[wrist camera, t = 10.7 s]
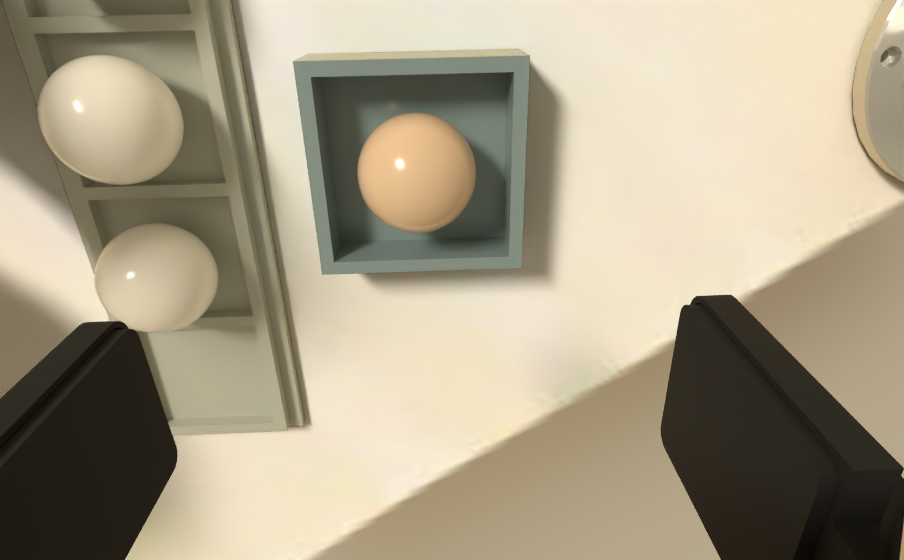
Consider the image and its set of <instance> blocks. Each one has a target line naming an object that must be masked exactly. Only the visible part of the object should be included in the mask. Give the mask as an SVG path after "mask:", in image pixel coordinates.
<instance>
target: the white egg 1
mask: <svg viewBox="0 0 904 560" xmlns="http://www.w3.org/2000/svg"><path fill="white" fill-rule="evenodd" d="M38 119H39V124H40V128H41V131H42V134H43V136H44V139H45V140H46V142H47V144H48V146H49V147H50V149H51V150H52V151H53V153H54V154H55V155H56V156H57V157H58V158H59V159H60V160H61V161H62V162H63V163H64V164H65V165H67V166H68V167H69V168H70V169H72V170H73V171H75V172H77V173H78V174H80V175H82V176H84V177H86V178H89V179H91V180H94V181H98V182H101V183H106V184H113V185H129V184H135V183H140V182H144V181H146V180H149V179H151V178H153V177H155V176H157V175H159V174H160V173H162V172H163V171H164V170H165V169H166V168H168V167H169V166H170V164H171V163H172V162H173V161H174V159H175V158H176V156H177V154H178V153H179V150H180V148H181V145H182V141H183V135H184V122H183V116H182V112H181V109H180V106H179V104H178V102H177V100H176V98H175V96H174V94H173V93H172V91H171V90H170V89H169V87H168V86H167V85H166V84H165V83H164V82H163V80H161V79H160V78H159V77H158V76H157V75H156V74H155V73H153V72H152V71H150V70H149V69H147V68H146V67H144V66H142V65H140V64H139V63H136V62H134V61H132V60H129V59H126V58H122V57H118V56H112V55H89V56H84V57H80V58H77V59H74V60H72V61H69V62H67V63H66V64H64V65H63V66H61V67H60V68H58V69H57V70H56V71H55V72H54V73H53V74H52V75H51V76H50V77H49V79H48V80H47V81H46V83H45V85H44V87H43V88H42V91H41V94H40V97H39V102H38Z"/></svg>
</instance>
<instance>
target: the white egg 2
mask: <svg viewBox="0 0 904 560" xmlns="http://www.w3.org/2000/svg"><path fill="white" fill-rule="evenodd" d="M94 281H95V288H96V292H97V295H98V297H99V300H100V302H101V304H102V305H103V307H104V308H105V309H106V311H107V312H108V313H109V314H110V315H111V316H112V317H113V318H115V319H116V320H117V321H121V322H123V323H125V324H126V325H127V326H128V327H130V328H132V329H135V330H138V331H142V332H149V333H165V332H170V331H175V330H178V329H181V328H183V327H186V326H188V325H189V324H191V323H193V322H194V321H196V320H197V319H198V318H200V317H201V316H202V315H203V314H204V313H205V311H206V310H207V309H208V308H209V306H210V305H211V303H212V301H213V299H214V297H215V294H216V291H217V287H218V269H217V265H216V262H215V259H214V257H213V255H212V253H211V251H210V250H209V248H208V247H207V246H206V245H205V243H204V242H203V241H202V240H201V239H199V238H198V237H197V236H196V235H194V234H193V233H191V232H189V231H187V230H185V229H183V228H181V227H178V226H174V225H170V224H164V223H149V224H142V225H138V226H135V227H132V228H129V229H127V230H125V231H123V232H122V233H120V234H118V235H117V236H116V237H114V238H113V239H112V240H111V241H110V242H109V243H108V244H107V245H106V246H105V248H104V249H103V251H102V253H101V254H100V256H99V258H98V261H97V264H96V268H95V277H94Z"/></svg>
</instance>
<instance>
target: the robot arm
mask: <svg viewBox="0 0 904 560" xmlns="http://www.w3.org/2000/svg"><path fill="white" fill-rule="evenodd" d="M852 93H853V116H854V120H855V124H856V127H857V131H858V135H859V138H860V140H861V142H862V144H863V145H864V147H865V149H866V151H867V153H868V154H869V156H870V157H871V158H872V159H873V160H874V161H875V162H876V163H877V164H878V165H879V166H880V167H881V168H882V169H883V170H884V171H885V172H887V173H888V174H890V175H892V176H894V177H895V178H897V179H899V180H900V181H902V182H904V0H883V2H882V3H881V5H880V7H879V9H878V11H877V13H876V15H875V17H874V19H873V21H872V23H871V25H870V27H869V29H868V31H867V33H866V36H865V39H864V42H863V45H862V48H861V51H860V54H859V57H858V60H857V64H856V70H855V77H854V83H853V90H852ZM661 437H662V441H663V445H664V448H665V450H666V452H667V454H668V455H669V458H670V460H671V462H672V464H673V466H674V467H675V470H676V472H677V474H678V476H679V477H680V479H681V481H682V483H683V485H684V487H685V489H686V491H687V493H688V495H689V497H690V499H691V501H692V503H693V505H694V507H695V509H696V511H697V513H698V515H699V517H700V519H701V521H702V523H703V525H704V527H705V529H706V531H707V533H708V535H709V537H710V539H711V541H712V543H713V545H714V546H715V549H716V550H717V552H718V554H719V556H720V558H721V560H904V479H903V478H902V476H901V474H902V472H903V470H904V468H903V467H902V466H901V465H900V464H899V463H898V462H897V461H896V460H895V459H894V458H893V457H892V456H891V455H890V454H889V453H888V452H887V451H886V450H885V449H884V448H883V447H882V446H881V445H880V444H879V443H878V442H877V441H876V440H875V439H874V438H873V437H872V436H871V435H870V434H869V433H868V432H867V431H866V430H865V429H864V428H863V427H862V425H861V424H859V423H858V422H857V420H856V419H854V417H853V416H851V415H850V413H849V412H848V411H847V410H845V408H844V407H843V406H842V405H841V404H840V403H839V402H838V401H837V400H836V399H835V398H834V397H833V396H832V395H831V394H830V393H829V392H828V391H827V390H826V389H825V388H824V387H823V386H822V385H821V384H820V383H819V382H818V381H817V380H816V379H815V378H814V377H813V376H812V375H811V374H810V373H809V372H808V371H807V370H806V369H805V368H804V367H803V366H802V365H801V364H800V363H799V362H798V361H797V360H796V359H795V358H794V357H793V356H792V355H791V354H790V353H789V352H788V351H787V350H786V349H785V348H784V347H783V346H782V345H781V344H780V343H779V342H778V341H777V340H776V339H775V338H774V337H773V336H772V335H771V334H770V333H769V332H768V331H767V330H766V328H765V327H763V325H762V324H761V323H760V322H758V320H757V319H756V318H754V316H753V315H752V314H750V312H749V311H747V309H746V308H745V307H744V306H743V305H742V304H741V303H740V302H739V301H738V300H737V299H736V298H735V297H733V296H732V295H713V296H696V297H695V298H693V300H692V302H691V304H690V305H684V306H683V307H682V309H681V312H680V317H679V323H678V329H677V335H676V341H675V347H674V354H673V359H672V364H671V371H670V376H669V382H668V388H667V394H666V400H665V405H664V412H663V417H662V423H661ZM176 462H177V448H176V444H175V441H174V438H173V435H172V433H171V430H170V427H169V424H168V421H167V418H166V415H165V412H164V409H163V406H162V403H161V400H160V397H159V394H158V391H157V388H156V385H155V382H154V379H153V376H152V373H151V370H150V367H149V364H148V361H147V358H146V355H145V352H144V349H143V346H142V343H141V340H140V337H139V335H138V333H137V332H136V331H135V330H133V329H129V328H128V326H127V325H126V324H125V323H123V322H121V321H108V322H87V323H83V324H81V325H79V326H78V327H77V328H76V329H75V330H74V331H73V332H72V333H71V334H70V335H68V336H67V337H66V338H65V339H64V340H63V341H62V342H61V343H60V344H59V345H58V346H57V347H56V348H54V349H53V350H52V351H51V352H50V353H49V354H48V355H47V356H46V357H45V358H44V359H43V360H42V361H40V362H39V363H38V364H37V365H36V366H35V367H34V368H33V369H32V370H31V371H30V372H29V373H28V374H26V375H25V376H24V377H23V378H22V379H21V380H20V381H19V382H18V383H17V384H16V385H15V386H14V387H12V388H11V389H10V390H9V391H8V392H7V393H6V394H5V395H4V396H3V397H2V398H1V399H0V560H125V558H126V557H127V555H128V553H129V551H130V549H131V547H132V546H133V544H134V542H135V540H136V538H137V537H138V535H139V533H140V531H141V529H142V527H143V526H144V524H145V522H146V520H147V518H148V517H149V515H150V513H151V511H152V509H153V507H154V506H155V504H156V502H157V500H158V498H159V496H160V495H161V493H162V491H163V489H164V487H165V486H166V484H167V482H168V480H169V478H170V476H171V475H172V473H173V471H174V469H175V466H176Z"/></svg>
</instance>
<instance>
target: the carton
mask: <svg viewBox="0 0 904 560" xmlns="http://www.w3.org/2000/svg"><path fill="white" fill-rule="evenodd" d="M1 2H2V4H3V7H4V10H5V13H6V16H7V19H8V22H9V25H10V28H11V31H12V34H13V37H14V40H15V43H16V46H17V49H18V52H19V55H20V58H21V61H22V63H23V66H24V69H25V72H26V75H27V78H28V81H29V84H30V87H31V90H32V93H33V96H34V99H35V102H36V105H37V108H38V102H39V97H40V94H41V91H42V88H43V87H44V85H45V83H46V81H47V80H48V79H49V77H50V76H51V75H52V74H53V73H54V72H55V71H56V70H57V69H58V68H60V67H61V66H63V65H64V64H66V63H67V62H69V61H72V60H74V59H77V58H80V57H84V56H89V55H112V56H118V57H122V58H126V59H129V60H132V61H134V62H136V63H139V64H140V65H142V66H144V67H146V68H147V69H149V70H150V71H152V72H153V73H155V74H156V75H157V76H158V77H159V78H160V79H161V80H163V82H164V83H165V84H166V85H167V86H168V87H169V89H170V90H171V91H172V93H173V94H174V96H175V98H176V100H177V102H178V104H179V106H180V109H181V112H182V116H183V122H184V135H183V141H182V145H181V148H180V150H179V153H178V154H177V156H176V158H175V159H174V161H173V162H172V163H171V164H170V166H169V167H168V168H166V169H165V170H164V171H163V172H162V173H160V174H159V175H157V176H155V177H153V178H151V179H149V180H146V181H144V182H140V183H135V184H129V185H113V184H106V183H101V182H98V181H94V180H91V179H89V178H86V177H84V176H82V175H80V174H78V173H77V172H75V171H73V170H72V169H70V168H69V167H68V166H67V165H65V164H64V163H63V162H62V161H61V160H60V159H59V158H58V157H57V156H56V155H55V154H54V153H53V155H54V158H55V161H56V164H57V167H58V170H59V173H60V176H61V179H62V181H63V184H64V187H65V190H66V193H67V196H68V199H69V202H70V205H71V208H72V211H73V214H74V217H75V220H76V223H77V226H78V229H79V232H80V235H81V238H82V240H83V243H84V246H85V249H86V252H87V255H88V258H89V261H90V264H91V267H92V270H93V273H94V276H95V268H96V264H97V261H98V258H99V256H100V254H101V253H102V251H103V249H104V248H105V246H106V245H107V244H108V243H109V242H110V241H111V240H112V239H113V238H114V237H116V236H117V235H118V234H120V233H122V232H123V231H125V230H127V229H129V228H132V227H135V226H138V225H142V224H149V223H164V224H170V225H174V226H178V227H181V228H183V229H185V230H187V231H189V232H191V233H193V234H194V235H196V236H197V237H198V238H199V239H201V240H202V241H203V242H204V243H205V245H206V246H207V247H208V248H209V250H210V251H211V253H212V255H213V257H214V259H215V262H216V265H217V269H218V287H217V291H216V294H215V297H214V299H213V301H212V303H211V305H210V306H209V308H208V309H207V310H206V311H205V313H204V314H203V315H202V316H201V317H200V318H198V319H197V320H196V321H194V322H193V323H191V324H189V325H188V326H186V327H183V328H181V329H178V330H175V331H170V332H165V333H149V332H142V331H138V330H135V329H133V330H135V331H136V332H137V333H138V335H139V337H140V340H141V343H142V346H143V349H144V352H145V355H146V358H147V361H148V364H149V367H150V370H151V373H152V376H153V379H154V382H155V385H156V388H157V391H158V394H159V397H160V400H161V403H162V406H163V409H164V412H165V415H166V418H167V421H168V424H169V427H170V430H171V433H172V435H190V434H216V433H241V432H267V431H287V430H288V427H289V426H303V424H304V414H303V409H302V403H301V397H300V392H299V386H298V380H297V374H296V369H295V363H294V357H293V352H292V346H291V340H290V334H289V329H288V323H287V317H286V312H285V306H284V300H283V295H282V289H281V283H280V277H279V272H278V266H277V260H276V255H275V249H274V243H273V237H272V232H271V226H270V220H269V215H268V209H267V203H266V197H265V192H264V186H263V180H262V175H261V169H260V163H259V158H258V152H257V146H256V140H255V135H254V129H253V123H252V118H251V112H250V106H249V100H248V95H247V89H246V83H245V78H244V72H243V66H242V61H241V55H240V49H239V43H238V38H237V32H236V26H235V21H234V15H233V9H232V3H231V0H1ZM52 152H53V151H52ZM107 314H108V317H109V320H110V321H117V320H116V319H115V318H113V317H112V316H111V315H110V314H109V313H108V312H107ZM128 328H129V329H132V328H130V327H128Z"/></svg>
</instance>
